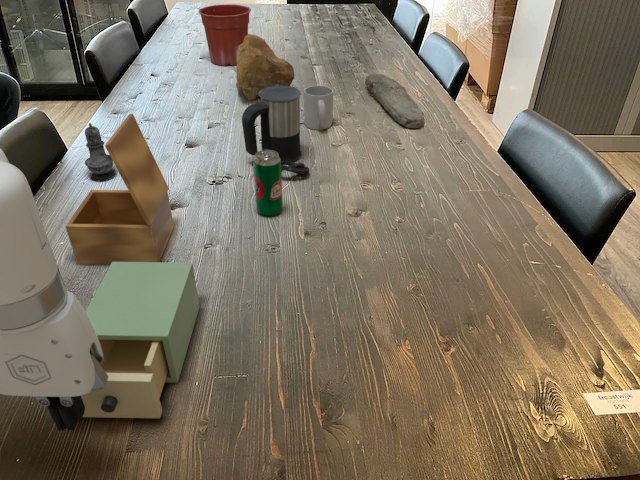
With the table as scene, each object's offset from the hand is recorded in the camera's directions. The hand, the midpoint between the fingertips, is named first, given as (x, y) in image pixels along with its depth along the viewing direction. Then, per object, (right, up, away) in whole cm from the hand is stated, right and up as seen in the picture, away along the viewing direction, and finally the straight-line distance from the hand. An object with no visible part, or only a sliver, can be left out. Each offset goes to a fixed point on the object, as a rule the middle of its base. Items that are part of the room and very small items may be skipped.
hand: (71, 419), depth 60 cm
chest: (-6, +19, +36) cm, 41 cm away
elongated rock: (+48, +57, +91) cm, 118 cm away
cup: (+27, +48, +78) cm, 96 cm away
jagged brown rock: (+12, +63, +98) cm, 117 cm away
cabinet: (+3, +5, +17) cm, 18 cm away
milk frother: (+20, +37, +62) cm, 75 cm away
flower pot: (-3, +80, +121) cm, 145 cm away
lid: (-2, +31, +27) cm, 41 cm away
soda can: (+18, +25, +46) cm, 55 cm away
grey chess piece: (-19, +33, +56) cm, 68 cm away
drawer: (+3, +2, +10) cm, 11 cm away
